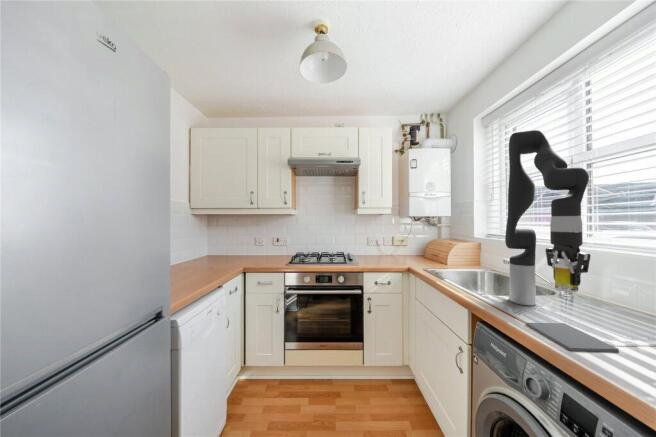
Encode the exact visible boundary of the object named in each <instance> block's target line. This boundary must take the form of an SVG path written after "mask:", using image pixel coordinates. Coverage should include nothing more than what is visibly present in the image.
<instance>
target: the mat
mask: <svg viewBox="0 0 656 437" xmlns="http://www.w3.org/2000/svg"><path fill="white" fill-rule="evenodd" d="M525 326H527V327H528V328H531V329H532V330H534V331H535V332H537V333H539V334H540V335H543V336H544V337H546V338H547V339H550V340H551V341H553V342H554V343H557V344H558V345H560V346H561V347H563V348H565V349H566V350H568V351H570V352H607V353H608V352H610V353H612V352H614V353H616V352H617V353H619V351H620V349H619V348H618V347H616V346H613V345H611V344H609V343H607V342H605V341H603V340H601V339H598V338H597V337H594V336H592V335H590V334H588V333H585V332H583V331H582V330H580V329H577V328H575V327H574V326H571V325H569V324H567V323H565V322H563V323H562V322H525Z"/></svg>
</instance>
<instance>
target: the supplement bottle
mask: <svg viewBox="0 0 656 437" xmlns="http://www.w3.org/2000/svg"><path fill="white" fill-rule="evenodd" d="M558 263H559V264H555V280H554V288H555V290H556V291H560V292H565V293H578V292H579V286H573V285H571V284H570V273H571V271H570V269H569V266H567V265H566V262H565V260H564V259H561V258H558ZM571 263H575V262H571ZM574 269H576V267H575V266H574Z"/></svg>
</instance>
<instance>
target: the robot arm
mask: <svg viewBox="0 0 656 437" xmlns="http://www.w3.org/2000/svg"><path fill="white" fill-rule="evenodd" d="M535 153H536V154H535ZM529 154H530V155H531V154H535V156H534V159H533V163H534V166H535V168H536V169H537V170H538V171H539V172H540V174H541V175H542V176H541V177H542V180H543V185H544V187H545V188H546V189H547V190H549V191H567V194H566V195H565V196H563V197H562V196H560V197H557V198H553V199H552V201H551V202H550V207H551V208H550V212H551V213H550V214H551V218H550V222H549V223H550V225H549V226H550V235H549V236H550V244H551V245H553V247H552V248H549V247H548V248H547V247H546V248H545V254H546V255H545V256H546V261H547V266H549V267H551V269H553V281H555V264H559V263H558V258H561V259H564V260H565V262H566V265H567V266H569V269H570V271H571V273H570V284H571V285H573V286H578V287H579V286H580V285H581V282H582V281H581V278H582V277H581V275H582V274H588V273H589V268H590V267H589V266H590V261H591V254H590V252H589V253H588V252H586V253H585V252H582V251H581V249H580V247H581V246H583V245H584V244H583V220H582V200H583V198H584V194H585V191H586V188H587V187H588V184H589V180H590V177H589V176H590V175H589V172H588V171H587V170H586V169H585V168H584V167H568V163H567V162H566V160H565V159H564V158H562V157H561V156H560V155H559V154H558V153H557V152H556V151H555V150H554V148H553V147H552V146H551V144H550V142H549V140H548V139H547V137H546V134H544V133H543V132H542V131H541V130H538V129H537V130H536V129H535V130H534V129H533V130H526V131H517V132H514V133H511V135H510V137H509V140H508V160H509V161H508V163H509V166H508V167H509V173H508V174H509V175H508V176H509V177H508V189H507V220H506V221H507V222H506V228H505V237H504V241H505V242H504V243H505V246H506V247H507V248H508V249H511V250H512V249H513V250H524V251H523V252H521V253H519V254H516V255H513V256H510V258H509V279H508V299H509V301H510V302H511V303H514V304H517V305H522V306H535V305H536V302H537V300H536V297H537V295H536V293H537V292H536V249H537V248H536V247H537V234H536V232H535V230H534V229H533V228H517V225H518V222H519V220H520V219H521V217H522V216H523V215H524V214H525V213H526V212H527V210H528V209H529V208H530V207H531V206H532V204H533V203H534V201H535V192H536V185H535V182H534V180H533V179H532V177H531V176H530V175H529V173H528V172H527V171H526V170H525V169H524V166H523V164H522V159H521V158H522V156H521V155H529ZM571 262H575V263H571ZM574 266H575V267H576V269H574Z"/></svg>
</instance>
